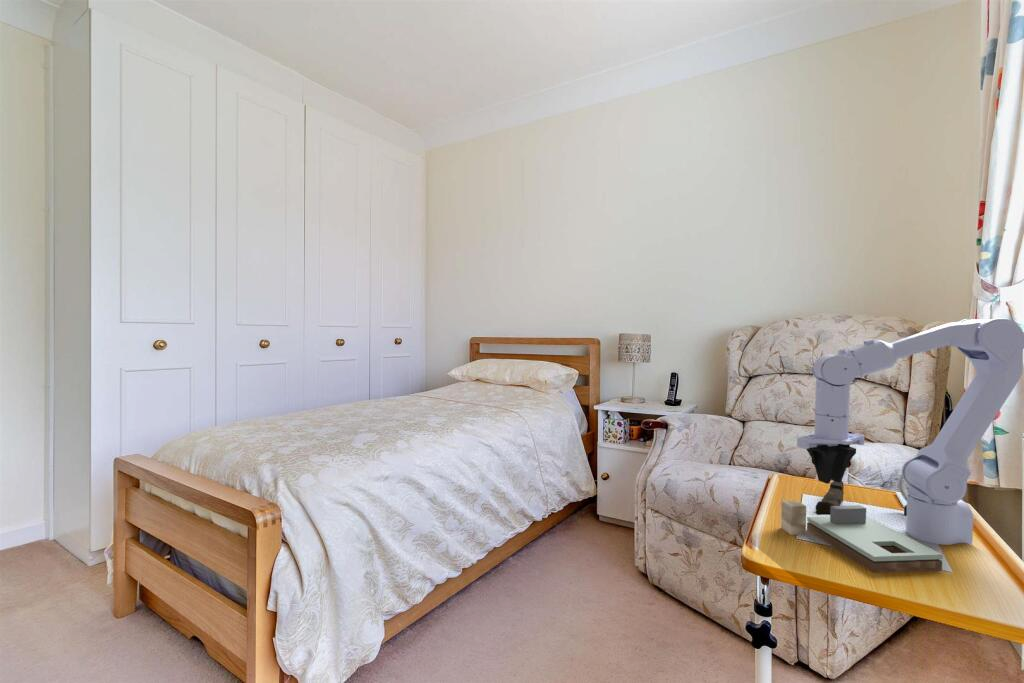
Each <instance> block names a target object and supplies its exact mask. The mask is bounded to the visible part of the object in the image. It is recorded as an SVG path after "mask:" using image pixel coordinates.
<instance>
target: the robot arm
mask: <svg viewBox="0 0 1024 683" xmlns="http://www.w3.org/2000/svg"><path fill="white" fill-rule="evenodd" d="M944 347H953V348H954V347H955V348H956V349H957V350H958V351H959V352H960V353H962V354H963V355H964V356H965V357H966V358H967V359H969V361H970V363H971V364H972V366H973V367H974V369H975V371H976V374H975V375H974V377H973V379H972V380H971V382H970V383H969V385H968V387H967V388H966V390H965V392H964V393H963V395H962V396H961V398H960V399H959V401H958V402H957V404H956V406H955V407H954V409H952V412H951V413H950V415H949V416H948V418H947V420H946V421H945V423H944V424H943V425H942V428H941V429H940V431H939V432H938V434H937V435H936V437H935V439H934V441H933V442H932V443H931V444H929V445H927V446H924V447H922V448H920V449H919V450H918V452H917V453H916V455H914V456H913V457H911V458H909V459H908V460H907V461H905V462H904V463H903V465H902V468H901V475H902V476H903V480H904V482H906V483H907V484H908V487H907V490H908V491H907V493H908V494H907V501H906V505H907V516H906V517H905V518H906V520H905V521H906V525H905V531H906V533H907V534H908V535H909V536H910V537H913V538H915V539H917V540H921V541H923V542H926V543H932V544H934V545H935V544H936V545H943V546H945V545H946V546H948V545H955V544H964V543H965V544H968V545H970V546H973V539H974V538H973V533H974V531H973V530H974V515H973V511H972V509H971V508H970V506H969V504H967V503H966V501H964V500H963V498H965V497H964V496H966V493H967V490H968V487H967V484H968V480H969V478H970V476H971V474H972V470H971V467H970V465H969V461H968V459H969V458H970V457H971V455H972V453H973V452H974V450H975V449H976V447H977V445H978V444H979V442H980V441H981V439H982V438H983V436H984V435H985V433H986V432H987V430H988V429H989V427H990V425H991V424H992V423H993V421H994V420H995V418H996V417H997V415H998V413H999V412H1000V410H1001V409H1002V407H1003V405H1004V404H1005V402H1006V401H1007V400H1008V398H1009V396H1010V395H1011V393H1012V392H1013V390H1014V389H1015V387H1016V385H1017V384H1018V383H1019V381H1020V379H1021V377H1022V376H1023V372H1024V371H1023V369H1024V368H1023V367H1024V366H1023V364H1024V363H1023V362H1024V361H1023V359H1024V358H1023V357H1024V330H1023V329H1022V328H1021V326H1020V325H1019V324H1018V323H1017V322H1015V321H1013V320H1012V319H1009V318H993V319H989V318H988V319H986V318H985V319H984V318H983V319H977V318H965V319H961V320H959V321H953V322H947V323H945V324H941V325H939V326H938V325H937V326H936V327H935V326H934V327H932V328H930V329H926V330H924V331H920V332H919V333H915V334H912V335H909V336H906V337H904V338H900V339H898V340H895V341H892V342H890V343H889V342H886V341H883V340H881V339H876V340H874V339H870V338H869V339H867V340H863V344H861V345H858V346H857V345H856V346H855V347H851V348H848V349H845V348H839V349H838V350H837V354H831V353H830V354H824V355H823V354H822V355H821V356H819V357H818V358H817V359H816V360H814V363H813V366H812V367H811V372H812V375H813V377H814V378H816V381H815V382H816V384H815V397H814V398H815V401H814V433H810V434H808V435H803V436H797V437H796V447H797V448H801V449H804V450H806V451H807V452H808V454H809V456H810V457H811V458H810V459H811V460H812V463H813V464H814V467H815V471H816V475H817V476H816V477H817V480H818V482H821V483H824V484H831V481H832V482H833V481H836V482H838V483H840V482H841V481H843V478H844V475H845V472H846V470H847V468H848V465H849V464H850V462H851V461H852V459H853V458H854V456H855V455H856V454H857V448H856V447H853V445H859V446H864V445H865V435H863V434H859V433H849V428H850V401H851V400H850V399H851V398H850V396H851V395H850V394H851V393H850V389H851V388H850V385H851V383H852V382H853V381H854V380H855V378H856V379H857V378H862V377H863V376H868V375H871V374H874V373H877V372H881V371H885V370H888V369H890V368H893V367H894V366H895V364H896V363H897V361H898V359H901V358H907V357H909V356H913V355H917V354H920V353H924V352H928V351H933V350H936V349H939V348H944ZM851 445H852V446H851Z"/></svg>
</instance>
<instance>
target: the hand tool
mask: <svg viewBox="0 0 1024 683" xmlns="http://www.w3.org/2000/svg"><path fill="white" fill-rule="evenodd" d="M829 484H830V485H829V488H828V491H827V492H826V494H825V495H824V496H823V497H822V499H821V501H818V502H817V503H816V505H815V514H816V515H817V516H823V515H824V516H826V515H827V516H828V515H829V516H830V508H831V506H841V504H842V503H843V502H844V494H845V493H844V489H845V488H844V482H843V480H842V481H841V482H840V483H838V482H836V481H833V480H832V482H830V483H829ZM841 502H842V503H841Z"/></svg>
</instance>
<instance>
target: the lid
mask: <svg viewBox="0 0 1024 683" xmlns="http://www.w3.org/2000/svg"><path fill="white" fill-rule="evenodd" d="M806 522H810V523H811V524H813V525H815V526H816V527H818V528H820V529H821V530H823V531H825V532H826V533H828V534H830V535H831V536H833V537H834V538H836V539H838V540H839V541H841V542H843V543H844V544H846V545H848V546H849V547H851V548H853V549H854V550H856V551H858V552H859V553H861V554H863V555H864V556H866V557H867V558H869V559H871V560H872V561H903V560H933V559H940V560H943V554H942V553H941V552H938V551H937V550H935V549H933V548H930V547H928V546H927V545H925V544H923V543H920V542H919V541H916V540H914V539H912V538H911V537H909V536H907V535H904V534H903V533H901V532H899V531H896V530H895V529H893V528H891V527H889V526H887V525H885V524H882V523H881V522H879V521H877V520H875V519H873V518H871V517H869V516H867V507H865V506H863V505H861V504H857V505H840V506H831V508H830V515H829V516H828V515H827V516H826V515H824V516H806ZM880 546H895V547H897V548H899V549H901V550H903V551H905V552H907V553H890V552H889V551H887V550H885V549H883V548H881V547H880Z"/></svg>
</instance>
